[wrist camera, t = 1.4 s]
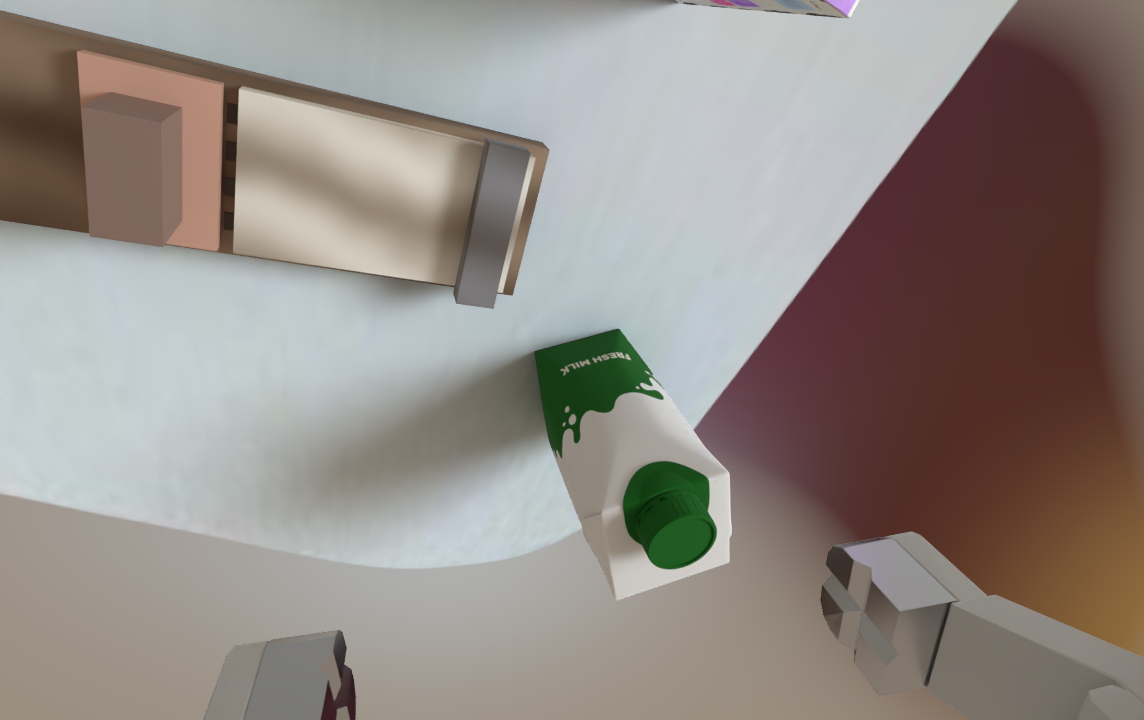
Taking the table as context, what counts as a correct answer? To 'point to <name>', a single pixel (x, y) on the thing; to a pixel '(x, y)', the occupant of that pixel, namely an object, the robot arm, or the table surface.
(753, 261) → the table surface
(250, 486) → the table surface
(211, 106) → the pink plate with handle
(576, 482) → the milk carton
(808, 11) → the candy box
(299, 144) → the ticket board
